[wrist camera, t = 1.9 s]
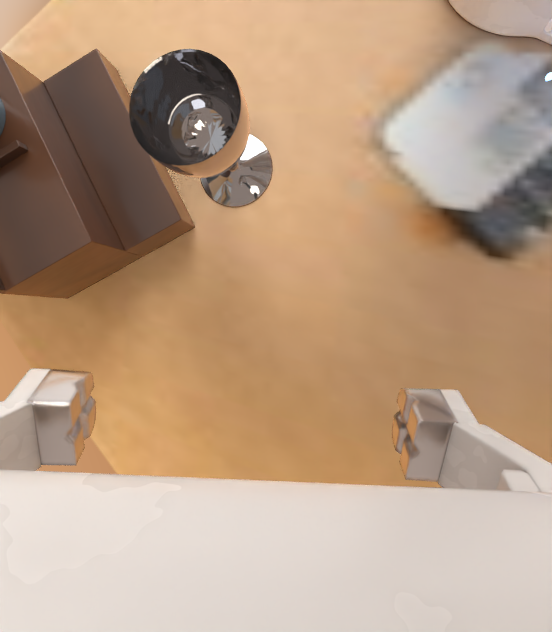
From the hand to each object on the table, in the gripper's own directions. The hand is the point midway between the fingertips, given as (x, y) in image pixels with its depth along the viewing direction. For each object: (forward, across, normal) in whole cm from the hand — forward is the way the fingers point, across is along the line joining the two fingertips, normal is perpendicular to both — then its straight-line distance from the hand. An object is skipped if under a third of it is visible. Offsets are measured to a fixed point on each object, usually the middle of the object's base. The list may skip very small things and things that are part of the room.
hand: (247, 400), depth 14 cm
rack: (+42, +17, +4) cm, 45 cm away
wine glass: (+40, +2, +1) cm, 40 cm away
